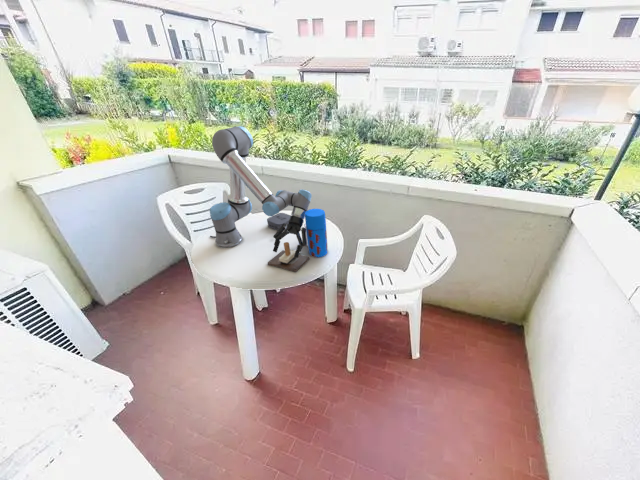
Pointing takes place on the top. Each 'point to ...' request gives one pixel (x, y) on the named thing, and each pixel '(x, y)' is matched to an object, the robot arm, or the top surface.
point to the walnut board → (292, 266)
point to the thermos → (316, 232)
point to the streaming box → (278, 220)
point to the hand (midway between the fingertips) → (285, 254)
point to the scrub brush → (287, 254)
